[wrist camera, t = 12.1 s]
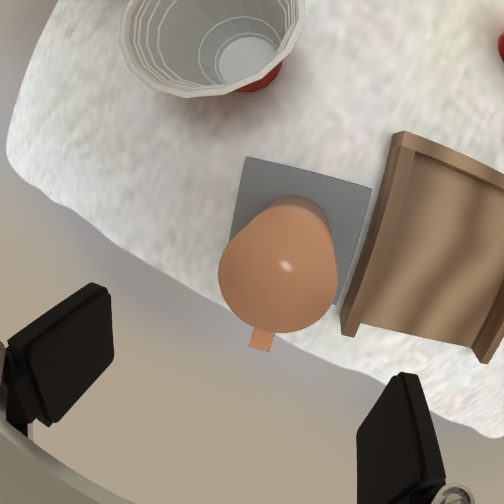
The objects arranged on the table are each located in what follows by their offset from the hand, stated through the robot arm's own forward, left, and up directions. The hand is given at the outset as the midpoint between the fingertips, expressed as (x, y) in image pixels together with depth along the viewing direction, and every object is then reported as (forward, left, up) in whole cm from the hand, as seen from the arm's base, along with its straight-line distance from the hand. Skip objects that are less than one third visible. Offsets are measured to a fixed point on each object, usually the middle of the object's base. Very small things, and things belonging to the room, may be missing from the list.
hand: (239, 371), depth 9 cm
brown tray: (+15, +2, -19) cm, 25 cm away
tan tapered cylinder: (0, -2, -19) cm, 19 cm away
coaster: (0, 0, -19) cm, 19 cm away
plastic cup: (-7, +14, -20) cm, 25 cm away
